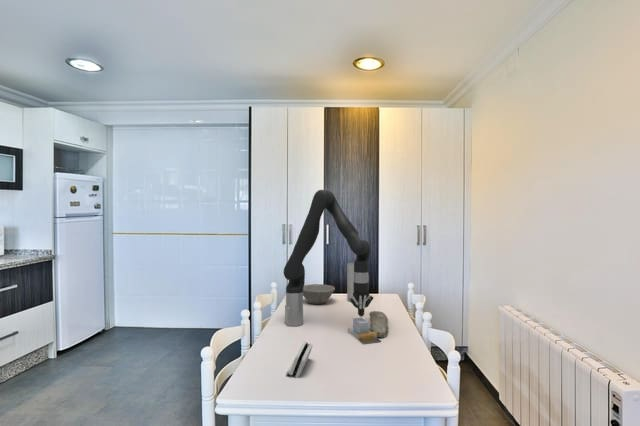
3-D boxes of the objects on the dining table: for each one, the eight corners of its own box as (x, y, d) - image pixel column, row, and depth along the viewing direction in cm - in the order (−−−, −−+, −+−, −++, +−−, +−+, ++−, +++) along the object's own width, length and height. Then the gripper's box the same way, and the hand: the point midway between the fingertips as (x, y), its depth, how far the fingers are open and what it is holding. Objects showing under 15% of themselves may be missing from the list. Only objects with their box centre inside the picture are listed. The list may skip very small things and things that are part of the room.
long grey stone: (368, 339, 164) (389, 342, 163) (368, 329, 164) (390, 331, 163) (369, 314, 199) (386, 316, 197) (369, 305, 199) (387, 307, 197)
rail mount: (363, 344, 156) (363, 338, 156) (347, 331, 173) (347, 325, 173) (380, 342, 159) (381, 335, 159) (363, 329, 176) (363, 323, 176)
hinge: (296, 357, 142) (304, 335, 142) (306, 362, 141) (314, 340, 141) (284, 376, 126) (293, 351, 125) (296, 382, 125) (305, 357, 124)
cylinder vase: (368, 299, 235) (368, 263, 235) (360, 303, 224) (361, 265, 224) (352, 297, 241) (352, 261, 241) (344, 301, 231) (344, 264, 231)
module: (359, 338, 164) (360, 323, 164) (353, 332, 172) (353, 318, 172) (368, 336, 166) (368, 322, 166) (361, 331, 173) (361, 317, 173)
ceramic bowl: (296, 299, 234) (296, 285, 234) (328, 297, 241) (328, 283, 241) (304, 308, 213) (304, 292, 213) (339, 305, 220) (339, 290, 220)
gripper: (351, 283, 163) (351, 319, 163) (376, 281, 167) (376, 316, 167) (345, 280, 170) (345, 315, 170) (369, 278, 174) (369, 312, 175)
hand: (361, 316), depth 169 cm, fingers closed
